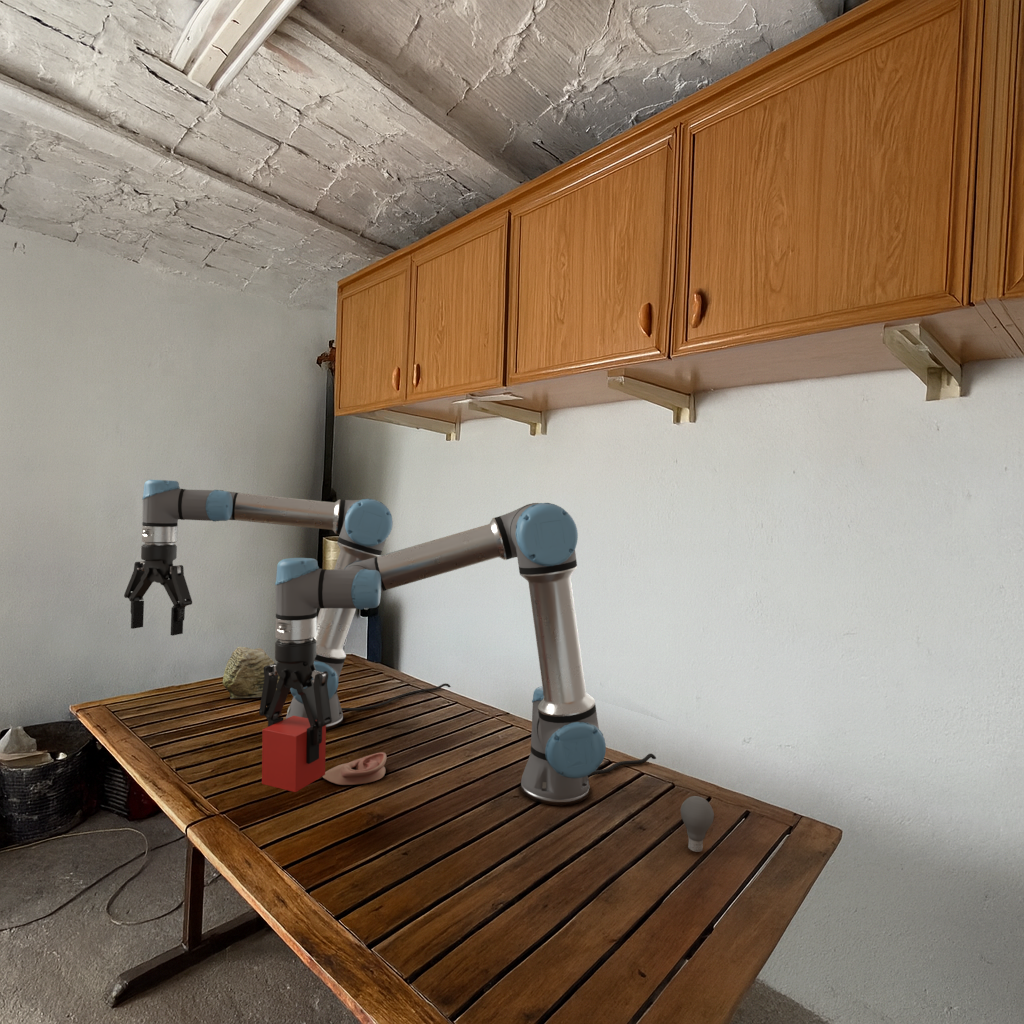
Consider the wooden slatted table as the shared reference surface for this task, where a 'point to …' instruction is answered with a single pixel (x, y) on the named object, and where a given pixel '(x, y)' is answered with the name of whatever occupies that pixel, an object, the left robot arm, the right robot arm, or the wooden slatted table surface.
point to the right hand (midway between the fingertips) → (294, 756)
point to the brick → (290, 755)
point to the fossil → (246, 672)
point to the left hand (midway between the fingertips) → (156, 631)
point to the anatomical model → (358, 770)
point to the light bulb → (696, 820)
